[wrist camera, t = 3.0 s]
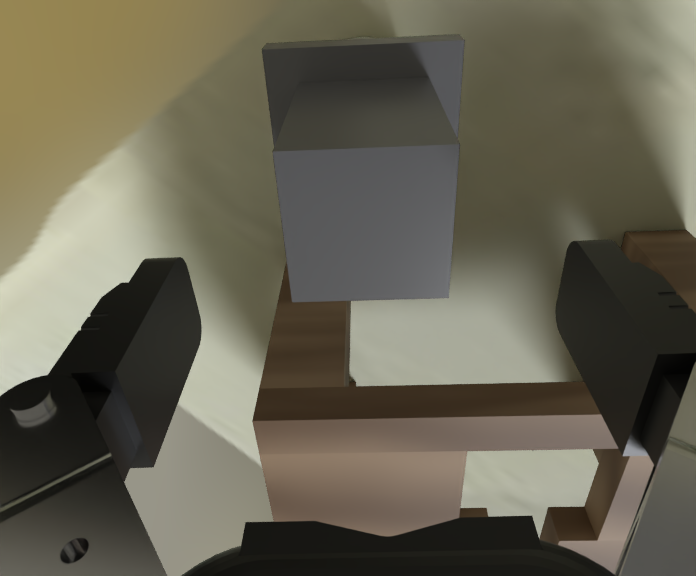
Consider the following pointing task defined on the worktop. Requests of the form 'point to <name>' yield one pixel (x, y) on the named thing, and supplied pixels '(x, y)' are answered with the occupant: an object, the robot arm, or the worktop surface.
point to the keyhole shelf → (434, 429)
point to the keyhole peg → (366, 163)
